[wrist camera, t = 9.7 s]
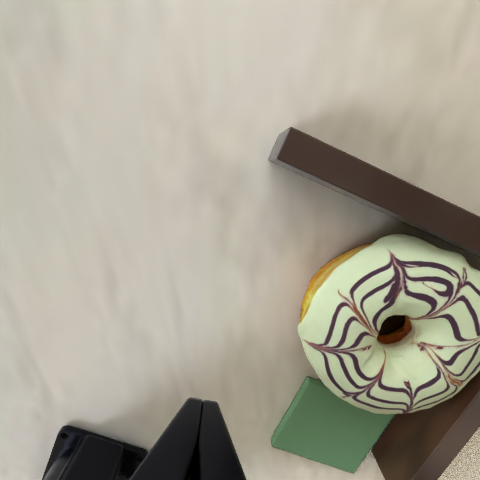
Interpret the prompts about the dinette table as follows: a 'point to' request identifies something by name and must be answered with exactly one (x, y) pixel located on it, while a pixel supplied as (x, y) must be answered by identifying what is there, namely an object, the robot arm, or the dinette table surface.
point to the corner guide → (437, 224)
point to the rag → (328, 428)
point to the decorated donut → (402, 340)
